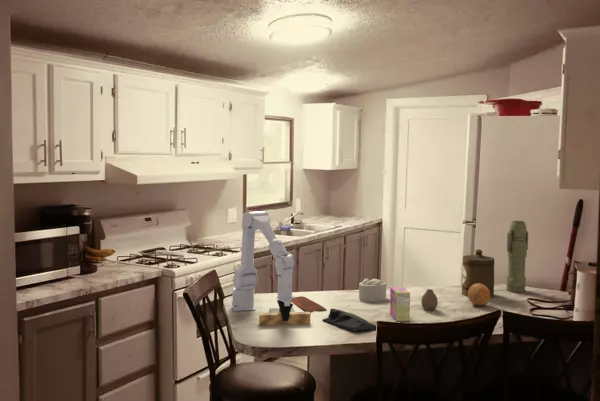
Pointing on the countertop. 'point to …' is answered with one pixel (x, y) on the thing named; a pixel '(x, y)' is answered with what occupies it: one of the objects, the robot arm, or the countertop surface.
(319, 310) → the wooden tablet
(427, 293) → the vase
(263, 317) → the oak bar
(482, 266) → the wooden container
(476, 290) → the orange fruit
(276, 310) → the stand
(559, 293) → the countertop surface
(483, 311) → the countertop surface
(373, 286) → the lumpy-topped squat cylinder
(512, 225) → the green totem statue
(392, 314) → the box
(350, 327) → the dark slate chunk
